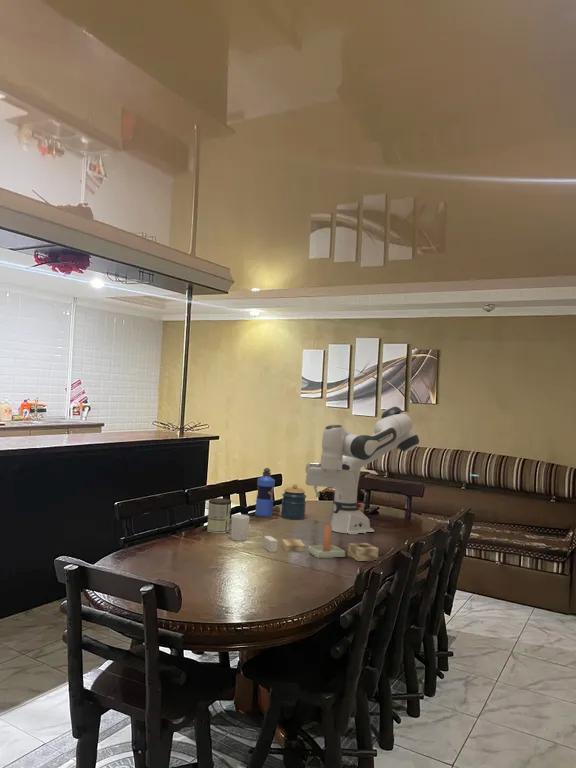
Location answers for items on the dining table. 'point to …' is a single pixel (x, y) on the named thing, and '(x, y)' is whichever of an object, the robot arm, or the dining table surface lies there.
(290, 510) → the canister
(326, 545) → the dowel
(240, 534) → the white cup
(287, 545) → the notched wooden block
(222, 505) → the coffee can
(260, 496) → the water bottle
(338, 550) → the tray
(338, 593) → the dining table surface
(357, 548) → the socket block
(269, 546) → the white rectangular block
